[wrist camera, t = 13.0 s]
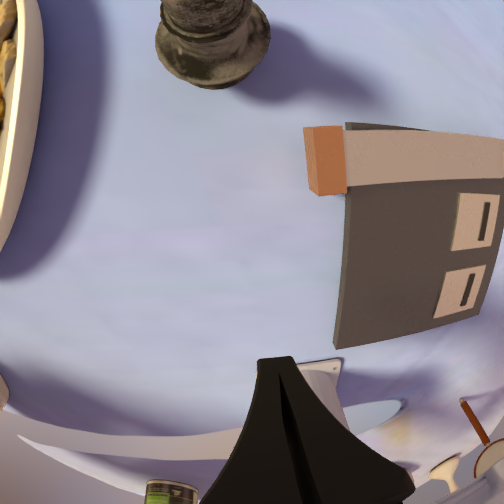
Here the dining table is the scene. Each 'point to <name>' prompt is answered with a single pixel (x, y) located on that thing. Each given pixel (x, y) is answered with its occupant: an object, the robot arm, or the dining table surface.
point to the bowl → (18, 101)
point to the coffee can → (170, 493)
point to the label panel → (415, 254)
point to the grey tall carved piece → (211, 40)
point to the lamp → (3, 393)
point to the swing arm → (396, 157)
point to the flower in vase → (447, 472)
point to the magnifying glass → (491, 451)
